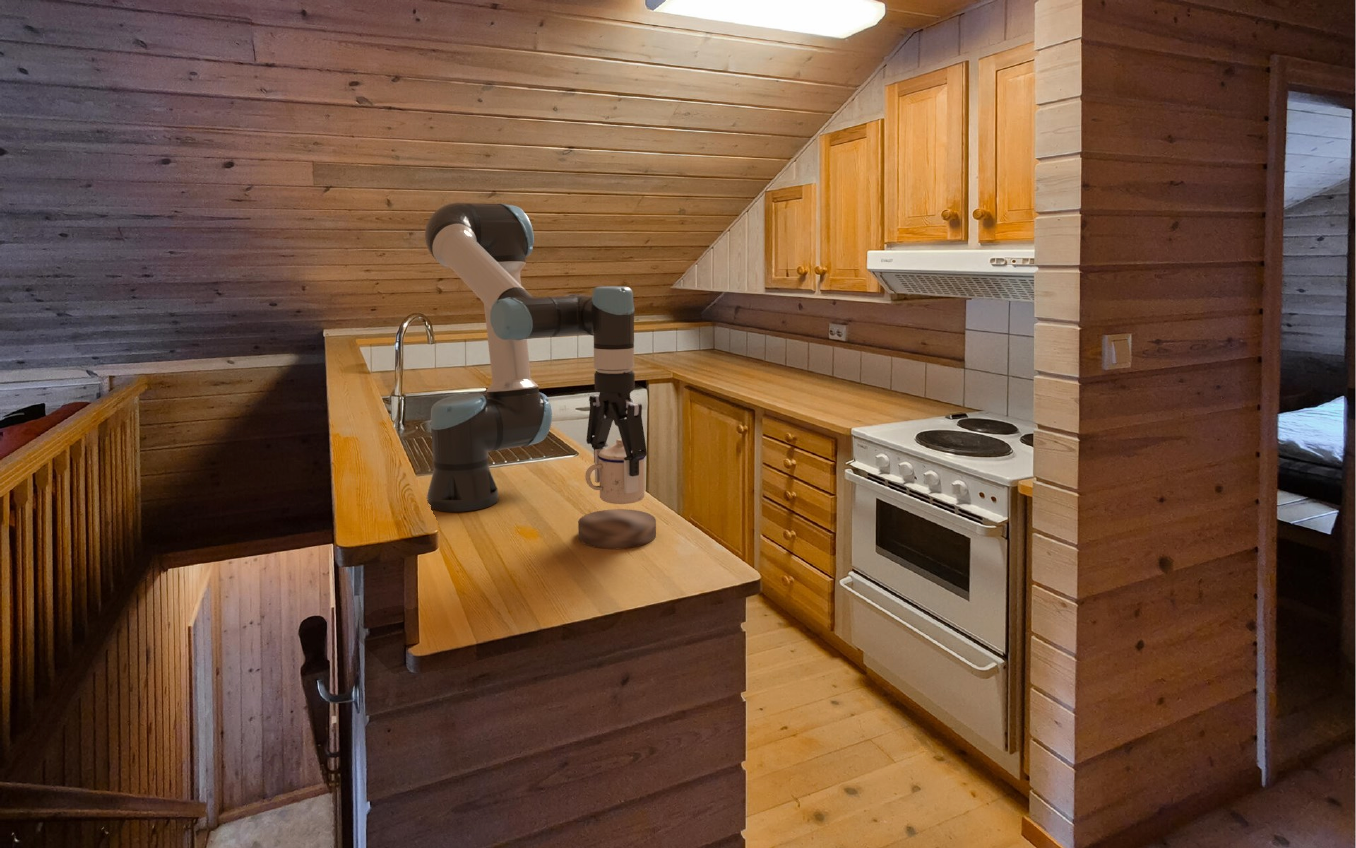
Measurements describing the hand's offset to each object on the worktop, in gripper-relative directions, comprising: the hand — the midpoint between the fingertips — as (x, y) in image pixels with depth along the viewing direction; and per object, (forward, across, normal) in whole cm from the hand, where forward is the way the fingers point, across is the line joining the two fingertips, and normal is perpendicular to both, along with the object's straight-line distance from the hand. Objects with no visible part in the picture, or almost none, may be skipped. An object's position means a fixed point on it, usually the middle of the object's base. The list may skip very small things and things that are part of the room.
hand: (616, 486), depth 163 cm
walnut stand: (+10, 0, 0) cm, 10 cm away
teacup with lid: (+3, 0, 0) cm, 3 cm away
